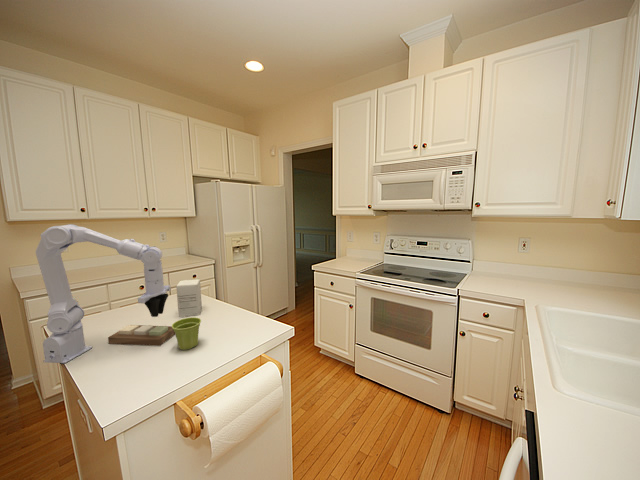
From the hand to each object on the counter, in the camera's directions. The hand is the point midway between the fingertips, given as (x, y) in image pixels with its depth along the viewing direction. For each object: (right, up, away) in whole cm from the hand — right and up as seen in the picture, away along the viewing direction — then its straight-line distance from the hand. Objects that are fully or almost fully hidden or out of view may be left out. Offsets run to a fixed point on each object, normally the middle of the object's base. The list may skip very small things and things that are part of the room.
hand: (157, 314), depth 97 cm
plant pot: (+14, -10, -4) cm, 17 cm away
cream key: (-12, -8, +2) cm, 14 cm away
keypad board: (-6, -9, +2) cm, 11 cm away
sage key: (0, -8, +1) cm, 8 cm away
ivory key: (-6, -8, +2) cm, 10 cm away
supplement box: (0, -7, +25) cm, 26 cm away
